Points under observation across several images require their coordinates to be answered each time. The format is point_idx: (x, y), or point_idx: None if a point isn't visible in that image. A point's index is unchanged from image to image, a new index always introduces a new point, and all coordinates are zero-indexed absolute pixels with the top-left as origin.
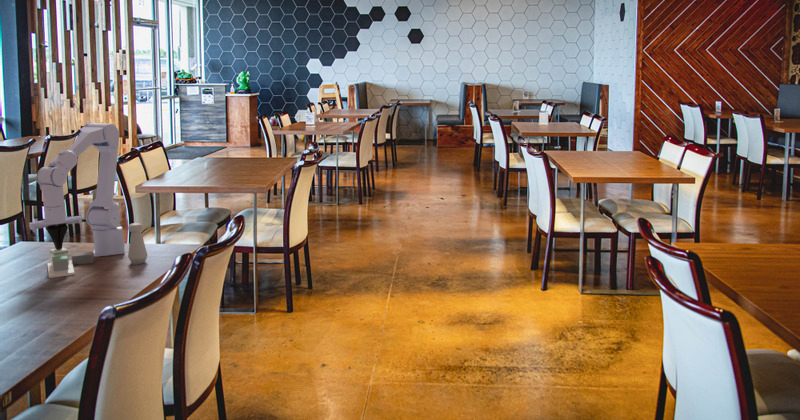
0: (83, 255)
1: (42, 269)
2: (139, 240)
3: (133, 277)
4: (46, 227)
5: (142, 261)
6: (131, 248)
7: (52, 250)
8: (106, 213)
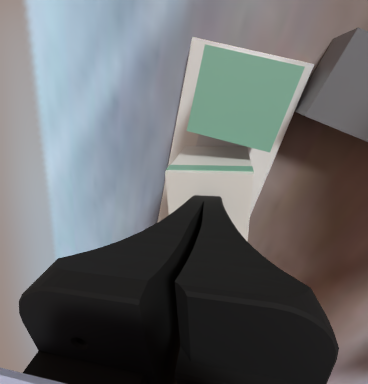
0: (364, 140)
1: (160, 105)
2: None
3: (342, 370)
4: (43, 353)
5: None
6: None
7: (172, 206)
8: None
